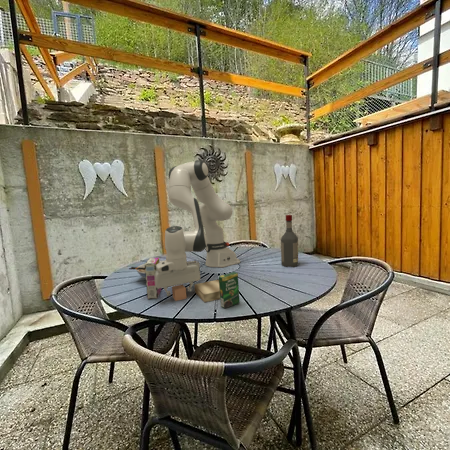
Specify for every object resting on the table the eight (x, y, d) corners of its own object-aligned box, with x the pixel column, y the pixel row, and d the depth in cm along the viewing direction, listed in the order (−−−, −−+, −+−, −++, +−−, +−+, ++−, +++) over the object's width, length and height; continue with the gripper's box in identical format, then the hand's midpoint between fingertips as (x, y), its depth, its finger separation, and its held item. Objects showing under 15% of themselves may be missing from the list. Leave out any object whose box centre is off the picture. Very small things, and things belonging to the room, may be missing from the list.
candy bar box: (158, 298, 119) (155, 263, 116) (147, 299, 118) (143, 264, 116) (162, 289, 130) (159, 257, 128) (152, 290, 129) (148, 257, 127)
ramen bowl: (188, 273, 154) (187, 259, 153) (169, 287, 132) (168, 271, 131) (150, 271, 161) (148, 258, 160) (126, 285, 139) (125, 270, 138)
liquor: (280, 266, 156) (279, 216, 152) (283, 262, 165) (282, 214, 161) (296, 267, 153) (295, 216, 149) (298, 263, 161) (297, 214, 157)
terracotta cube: (183, 294, 122) (182, 284, 121) (186, 298, 117) (185, 287, 117) (172, 297, 120) (171, 286, 119) (175, 301, 115) (174, 290, 115)
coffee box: (223, 309, 105) (221, 277, 103) (219, 306, 107) (218, 275, 105) (240, 303, 109) (238, 273, 107) (236, 301, 111) (234, 271, 110)
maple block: (218, 287, 130) (217, 279, 129) (230, 297, 117) (229, 288, 116) (194, 292, 125) (194, 284, 124) (204, 303, 112) (203, 294, 112)
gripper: (196, 258, 124) (198, 286, 126) (152, 265, 115) (155, 295, 117) (201, 261, 118) (203, 290, 120) (154, 269, 110) (157, 301, 111)
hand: (179, 293), depth 118 cm, fingers open, 8 cm apart
